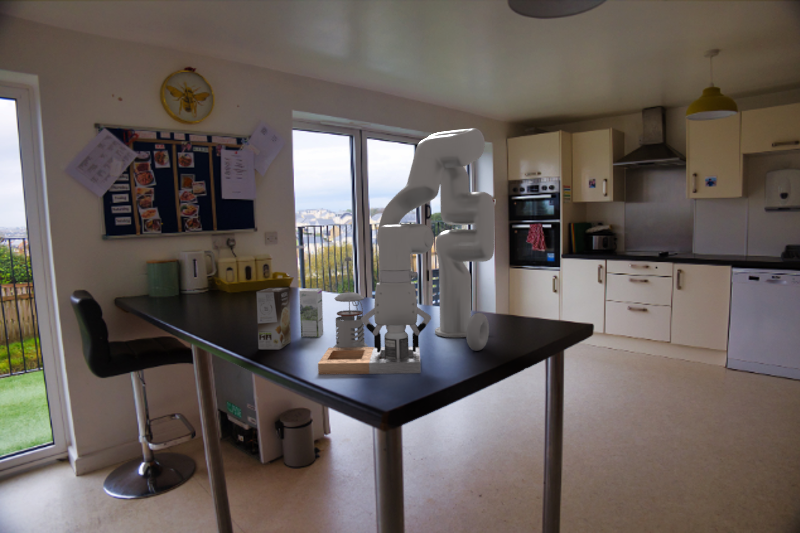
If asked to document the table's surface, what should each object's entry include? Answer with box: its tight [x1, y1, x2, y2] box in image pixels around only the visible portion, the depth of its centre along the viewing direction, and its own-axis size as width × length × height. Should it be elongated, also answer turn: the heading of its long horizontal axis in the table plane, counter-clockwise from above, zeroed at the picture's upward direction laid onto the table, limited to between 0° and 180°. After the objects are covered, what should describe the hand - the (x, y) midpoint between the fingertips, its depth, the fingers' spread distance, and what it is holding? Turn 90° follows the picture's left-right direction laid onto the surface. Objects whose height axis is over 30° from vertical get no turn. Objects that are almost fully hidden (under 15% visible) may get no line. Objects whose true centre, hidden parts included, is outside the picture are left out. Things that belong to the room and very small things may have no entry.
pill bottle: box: [383, 325, 410, 359], centre depth 112 cm, size 6×6×10 cm
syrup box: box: [298, 287, 324, 338], centre depth 145 cm, size 6×6×14 cm
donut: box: [465, 312, 490, 352], centre depth 124 cm, size 10×4×10 cm, turn 148°
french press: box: [332, 256, 369, 348], centre depth 130 cm, size 10×12×25 cm
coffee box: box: [255, 287, 292, 350], centre depth 133 cm, size 9×6×16 cm
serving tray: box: [317, 346, 422, 375], centre depth 113 cm, size 23×14×2 cm, turn 89°
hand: (396, 350), depth 112 cm, fingers open, 7 cm apart
